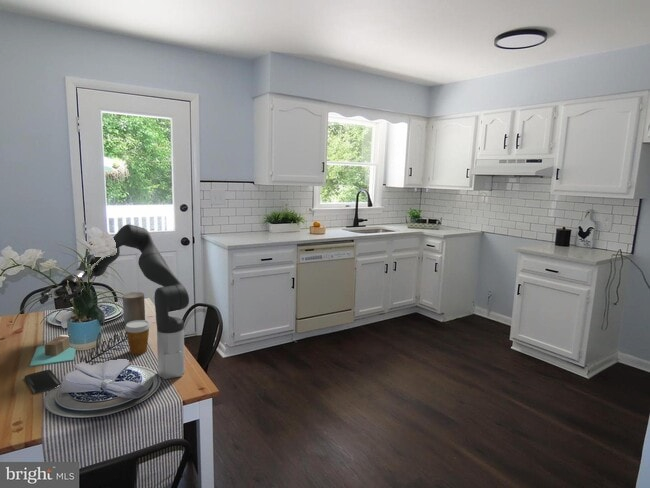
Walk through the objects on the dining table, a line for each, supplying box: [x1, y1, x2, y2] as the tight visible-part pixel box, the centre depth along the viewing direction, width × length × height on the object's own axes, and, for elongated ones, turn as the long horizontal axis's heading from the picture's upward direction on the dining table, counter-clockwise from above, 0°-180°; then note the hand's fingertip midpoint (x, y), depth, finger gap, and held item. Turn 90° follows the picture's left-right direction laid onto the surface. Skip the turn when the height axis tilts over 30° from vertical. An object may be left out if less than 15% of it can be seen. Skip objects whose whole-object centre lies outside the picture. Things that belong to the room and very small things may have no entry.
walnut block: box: [43, 334, 70, 356], centre depth 167 cm, size 4×4×10 cm
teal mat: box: [29, 345, 77, 368], centre depth 165 cm, size 18×14×1 cm
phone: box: [24, 369, 62, 395], centre depth 143 cm, size 8×1×15 cm
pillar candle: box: [122, 291, 146, 325], centre depth 202 cm, size 10×10×15 cm
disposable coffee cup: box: [124, 319, 151, 356], centre depth 169 cm, size 10×10×12 cm
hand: (52, 301), depth 158 cm, fingers open, 8 cm apart
